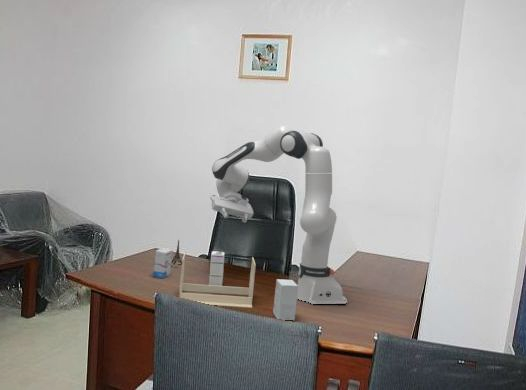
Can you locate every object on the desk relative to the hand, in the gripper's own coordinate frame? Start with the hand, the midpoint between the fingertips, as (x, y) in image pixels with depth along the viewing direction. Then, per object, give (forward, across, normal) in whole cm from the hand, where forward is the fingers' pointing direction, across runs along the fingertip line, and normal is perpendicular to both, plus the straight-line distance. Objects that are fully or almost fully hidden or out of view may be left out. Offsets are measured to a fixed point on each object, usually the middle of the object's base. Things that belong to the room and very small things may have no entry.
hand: (235, 219), depth 210 cm
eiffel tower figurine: (-10, -10, +44) cm, 46 cm away
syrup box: (+21, -4, +22) cm, 31 cm away
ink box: (+8, -22, +34) cm, 42 cm away
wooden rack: (+35, -10, +14) cm, 39 cm away
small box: (+54, +6, -2) cm, 55 cm away
